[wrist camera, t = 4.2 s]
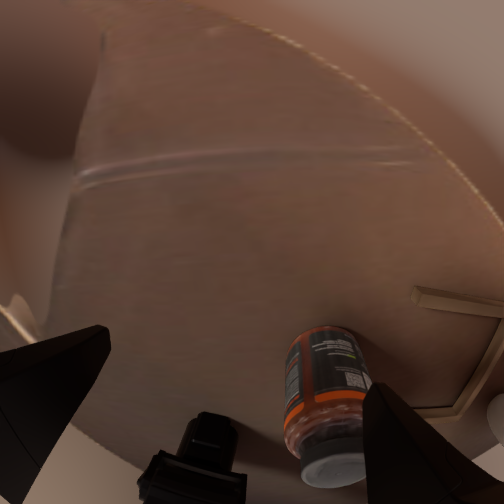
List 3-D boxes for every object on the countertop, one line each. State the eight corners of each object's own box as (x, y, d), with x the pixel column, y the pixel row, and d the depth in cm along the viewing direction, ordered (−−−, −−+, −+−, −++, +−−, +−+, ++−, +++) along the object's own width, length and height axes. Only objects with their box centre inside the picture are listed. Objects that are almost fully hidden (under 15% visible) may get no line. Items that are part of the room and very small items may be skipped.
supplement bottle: (291, 384, 23) (286, 499, 12) (280, 328, 21) (270, 452, 11) (359, 374, 22) (385, 485, 11) (358, 316, 20) (401, 432, 10)
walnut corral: (453, 412, 22) (458, 421, 21) (355, 415, 23) (357, 426, 22) (513, 303, 18) (522, 310, 17) (414, 285, 19) (422, 293, 18)
